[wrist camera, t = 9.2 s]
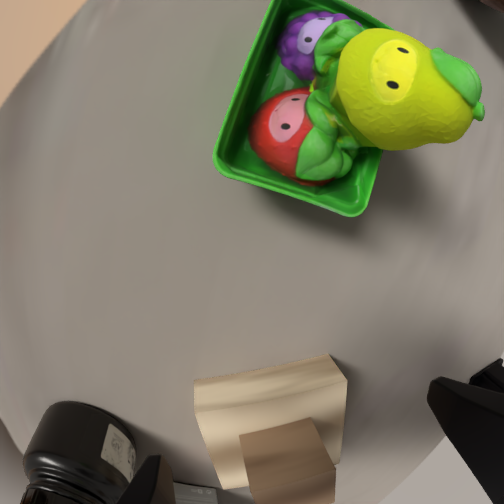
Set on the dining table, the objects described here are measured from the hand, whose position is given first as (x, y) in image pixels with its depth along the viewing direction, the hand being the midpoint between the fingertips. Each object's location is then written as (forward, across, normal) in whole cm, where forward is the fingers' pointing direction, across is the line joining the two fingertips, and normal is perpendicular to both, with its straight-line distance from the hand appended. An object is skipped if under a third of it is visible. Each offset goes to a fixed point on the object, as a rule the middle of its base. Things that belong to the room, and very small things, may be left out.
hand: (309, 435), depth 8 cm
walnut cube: (+8, 0, +11) cm, 14 cm away
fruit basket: (+12, -5, -11) cm, 17 cm away
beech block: (+12, 0, +11) cm, 17 cm away
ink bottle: (+12, +16, +11) cm, 23 cm away
